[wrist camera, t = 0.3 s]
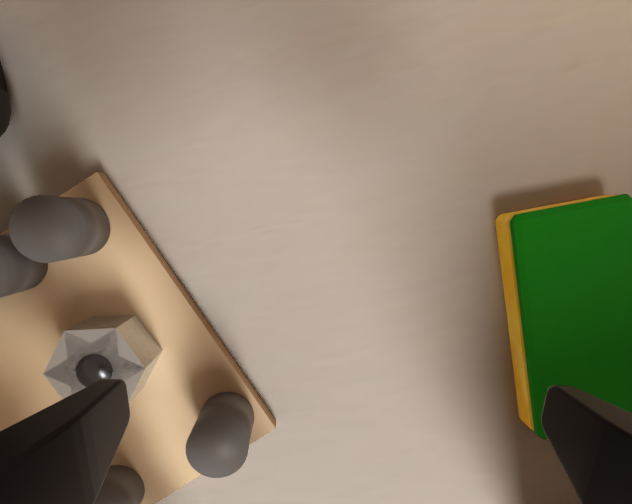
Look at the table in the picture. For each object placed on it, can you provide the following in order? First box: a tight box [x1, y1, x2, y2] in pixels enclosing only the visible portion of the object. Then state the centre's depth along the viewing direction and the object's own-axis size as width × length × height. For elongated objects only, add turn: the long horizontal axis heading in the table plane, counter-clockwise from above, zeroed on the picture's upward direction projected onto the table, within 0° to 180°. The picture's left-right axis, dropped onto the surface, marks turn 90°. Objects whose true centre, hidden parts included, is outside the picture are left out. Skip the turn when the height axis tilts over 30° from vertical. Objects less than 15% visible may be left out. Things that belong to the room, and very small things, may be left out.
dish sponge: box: [495, 194, 632, 439], centre depth 23 cm, size 7×14×2 cm, turn 10°
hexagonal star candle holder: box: [43, 314, 163, 404], centre depth 20 cm, size 4×5×3 cm
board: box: [0, 172, 276, 504], centre depth 20 cm, size 14×18×4 cm
